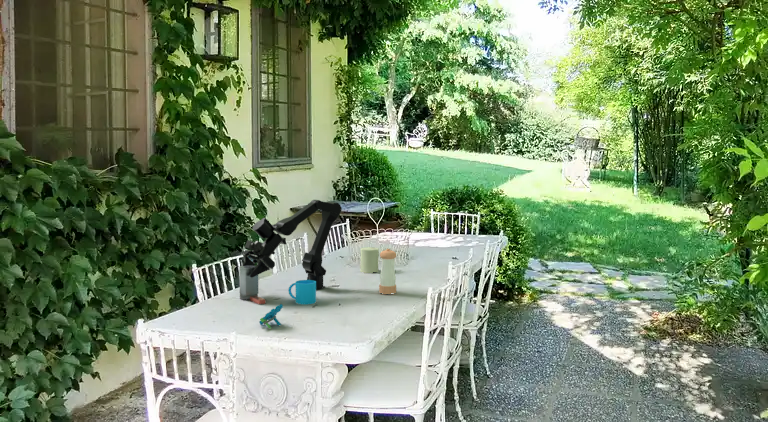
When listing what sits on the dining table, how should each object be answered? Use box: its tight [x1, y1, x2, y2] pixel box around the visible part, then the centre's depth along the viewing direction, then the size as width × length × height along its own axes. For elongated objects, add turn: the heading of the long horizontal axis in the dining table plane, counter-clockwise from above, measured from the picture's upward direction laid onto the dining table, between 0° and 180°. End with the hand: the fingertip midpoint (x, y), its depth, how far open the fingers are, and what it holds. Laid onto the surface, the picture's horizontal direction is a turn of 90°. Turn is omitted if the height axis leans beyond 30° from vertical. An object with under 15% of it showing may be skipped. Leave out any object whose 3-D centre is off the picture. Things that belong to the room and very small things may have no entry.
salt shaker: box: [378, 248, 397, 295], centre depth 274 cm, size 7×7×19 cm
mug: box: [288, 279, 317, 305], centre depth 259 cm, size 12×8×8 cm
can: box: [359, 246, 379, 274], centre depth 321 cm, size 9×9×12 cm
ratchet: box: [239, 292, 266, 305], centre depth 260 cm, size 7×15×5 cm, turn 38°
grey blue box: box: [238, 265, 259, 296], centre depth 262 cm, size 6×6×11 cm
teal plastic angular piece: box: [259, 303, 284, 329], centre depth 224 cm, size 11×6×10 cm
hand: (245, 275), depth 261 cm, fingers open, 9 cm apart
